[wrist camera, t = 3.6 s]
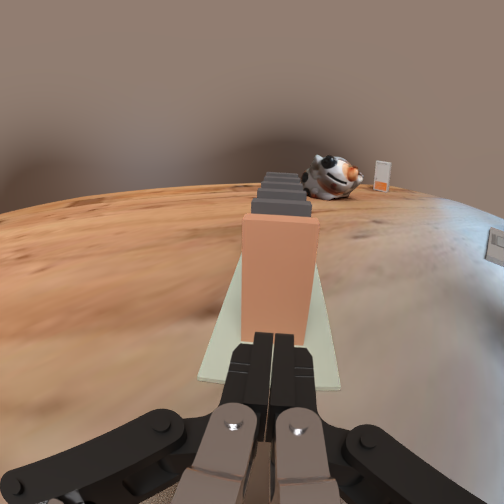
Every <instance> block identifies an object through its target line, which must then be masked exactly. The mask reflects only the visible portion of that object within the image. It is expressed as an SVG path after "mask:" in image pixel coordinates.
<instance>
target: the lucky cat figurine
mask: <svg viewBox="0 0 504 504" xmlns="http://www.w3.org/2000/svg"><path fill="white" fill-rule="evenodd" d="M363 178H364V176H363V175H362V174H361V173H359V171H358V167H356V166H351V165H350V163H348V162H347V161H346V160H345V159H342V158H340V157H333V156H331V155H328V156H326V157H324V158H322V157H321V156H319V155H316V156H315V157H314V159H313V162H312V164H311V165H310V168H309V169H307V170H305V172H304V173H303V174H302V177H301V183H302V184H303V191H306V192H308V194H309V196H310V197H312V198H316V199H322V200H331V199H332V198H338V197H348V196H349V194H350V193H351V192H352V191H353V190H354V189H355V188H356V187H357V186H358V185H360V183H361V182H362V180H363Z"/></svg>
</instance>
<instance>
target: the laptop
mask: <svg viewBox="0 0 504 504" xmlns="http://www.w3.org/2000/svg"><path fill="white" fill-rule="evenodd" d="M486 260H487V261H490V262H493V263H495V264H498V265H500V266H503V267H504V232H503V231H501V230H498V229H495V228H492V227H491V228H490V234H489V241H488V248H487V255H486Z"/></svg>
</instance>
